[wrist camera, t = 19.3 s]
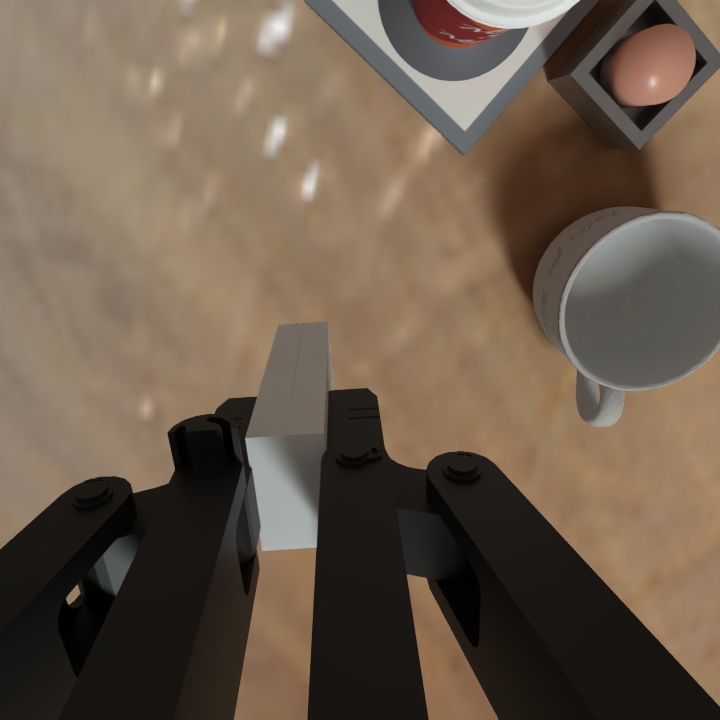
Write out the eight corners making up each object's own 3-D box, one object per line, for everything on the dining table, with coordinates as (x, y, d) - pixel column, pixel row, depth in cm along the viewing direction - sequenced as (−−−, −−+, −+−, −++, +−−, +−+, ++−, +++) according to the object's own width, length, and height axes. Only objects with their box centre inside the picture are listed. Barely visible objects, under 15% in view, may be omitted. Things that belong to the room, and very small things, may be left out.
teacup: (564, 173, 36) (617, 183, 29) (706, 229, 38) (791, 252, 30) (477, 359, 41) (503, 407, 34) (606, 402, 43) (658, 458, 35)
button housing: (547, 81, 34) (570, 74, 31) (623, -6, 33) (657, -24, 29) (610, 148, 36) (639, 149, 32) (686, 69, 34) (726, 61, 30)
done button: (586, 75, 32) (607, 69, 29) (638, 17, 31) (665, 6, 28) (628, 121, 33) (653, 120, 30) (679, 67, 32) (710, 60, 29)
